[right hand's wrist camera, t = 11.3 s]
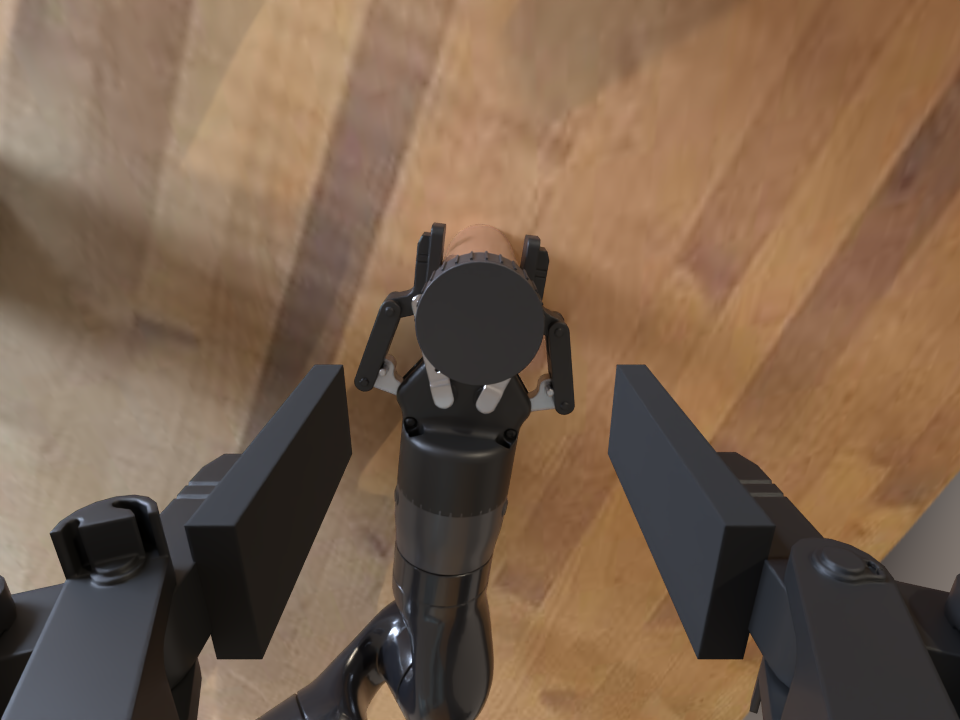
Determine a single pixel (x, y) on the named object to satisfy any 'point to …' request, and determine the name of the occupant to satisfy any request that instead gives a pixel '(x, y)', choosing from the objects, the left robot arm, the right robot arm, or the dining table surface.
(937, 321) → the dining table surface
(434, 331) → the lid
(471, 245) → the jar
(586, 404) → the dining table surface
